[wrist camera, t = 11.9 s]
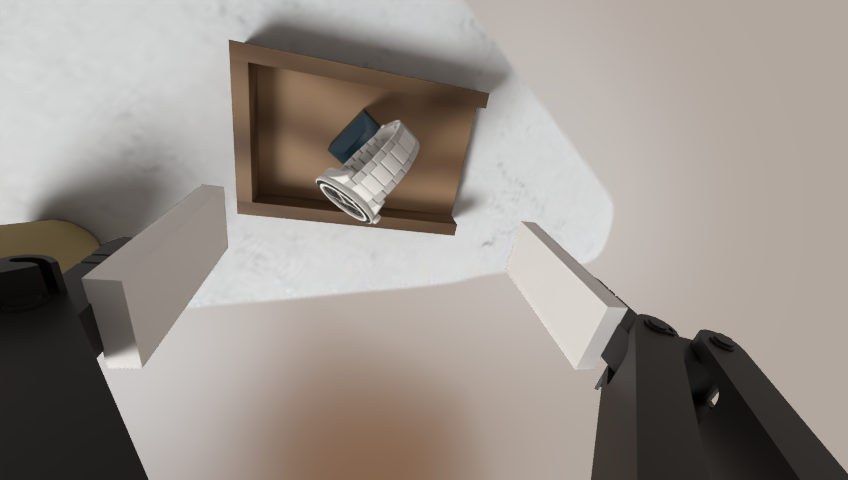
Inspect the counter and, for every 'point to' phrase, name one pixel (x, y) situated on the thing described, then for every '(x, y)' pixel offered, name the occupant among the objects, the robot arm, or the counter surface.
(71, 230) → the squeeze bottle
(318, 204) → the walnut track
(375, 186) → the watch
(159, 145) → the counter surface
